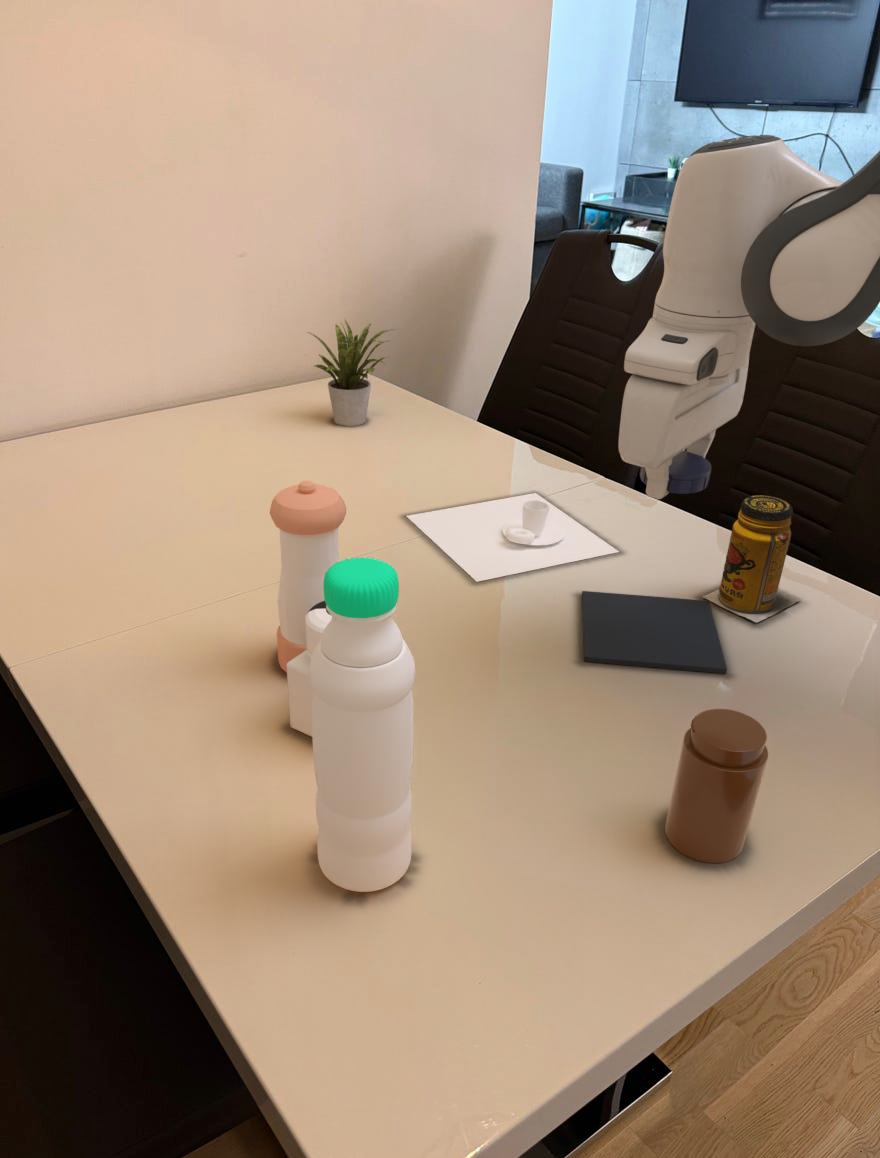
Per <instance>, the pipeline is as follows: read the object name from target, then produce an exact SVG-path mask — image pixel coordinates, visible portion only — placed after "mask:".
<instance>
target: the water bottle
mask: <svg viewBox="0 0 880 1158" xmlns="http://www.w3.org/2000/svg"><path fill="white" fill-rule="evenodd" d="M398 576H399V575H398V573H397V571H396V569H395V568H394V567H393V566H392V565H391V564H389V563H388V562H386V561H383V560H379V559H376V558H373V557H371V558H370V557H362V556H361V557H350V558H345V559H342V560H339V562H337V563H336V564H334V565H332V566H331V567H330V568H329V569H328V570H327V571H326V573H325V577H324V584H323V587H324V599H325V603H326V608H327V611H328V612H329V613H330V614H331V615H332V619H331V621H330V622H329V623H328V625H327V626H326V628H325V629H324V631H323V634H322V637H321V640H320V641H319V643H318V645H317V647H316V649H315V651H314V653H313V655H312V658H311V661H310V666H309V677H310V683H311V686H312V688H313V696H312V737H311V738H312V739H311V740H312V753H313V764H314V765H313V767H314V775H315V782H316V796H315V815H316V822H317V826H318V831H317V843H316V844H317V845H316V847H317V851H316V852H317V861H318V865H319V868H320V870H321V872H322V873H323V875H324V876H325V877H326V878H327V879H328V880H329V881H330V882H331V883H333V884H334V885H336V886H338V887H339V888H342V889H344V890H348V891H351V892H358V893H359V892H360V893H369V892H376V891H380V890H383V889H385V888H388V887H391V886H392V885H394V884H395V883H397V882H398V881H400V879H401V878H403V876H405V874H406V872H407V871H408V869H409V867H410V864H411V859H412V832H411V821H412V816H413V815H412V814H413V798H412V792H411V781H412V774H413V773H412V772H413V764H414V763H413V761H414V737H415V735H414V734H415V733H414V732H415V731H414V730H415V727H414V726H415V720H414V719H415V718H414V717H415V712H414V696H413V686H414V683H415V680H416V663H415V659H414V656H413V654H412V652H411V650H410V648H409V646H408V645H407V642H406V641H405V639H404V638H403V635H402V631H401V629H400V628H399V626H398V624H397V623H396V622H395V621H394V620H393V618H392V615H393V614H394V613H395V611H396V609H397V606H398V601H399V596H400V583H399V581H400V580H399V577H398Z"/></svg>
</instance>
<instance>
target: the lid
mask: <svg viewBox="0 0 880 1158" xmlns="http://www.w3.org/2000/svg"><path fill="white" fill-rule="evenodd" d="M686 451H687V450H684V451H682V452H681V453H679V454H677V455H676V456H674V457H673V459H672V464H671V465H670V466H669V477H670V478H672V481H671V486H670V492H669V493H670V494H676V495H677V494H678V495H684V494H685V495H688V494H695V493H698V492H702V491H704V490H705V489H707V487H708V484H709V483H710V480H711V475H712V464H711V462H710V461H709V460H708V459H707V458H706V457H705V458H703V457H701V456H699V455H697V454H694V453H690V452H686ZM639 478H640V480H641V482H642V483H644V484H645V485H646V486H647V480H648V478H647V474H646V470H645V467H641V466H640V468H639ZM669 493H668V494H669Z"/></svg>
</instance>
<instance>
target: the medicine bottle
mask: <svg viewBox="0 0 880 1158" xmlns="http://www.w3.org/2000/svg"><path fill="white" fill-rule="evenodd" d="M331 619H332V615H331V614H330V613H329V612H328V611H327V608H326V603H325V601H322V602H320V603H317V604H316V605H314V606H313V607H312V608H311V609H310V610H309V611H308V613H307V614H306V638H307V650H306V651H304V652H303V653H301V654H300V655H298V656H297V657H295V658H294V659H292V660H291V661H289V662H288V663H287V665H286V666H287V673H286V679H287V691H288V692H287V695H288V709H289V710H288V711H289V712H288V713H289V725H290V727H291V728H292V729H294V730H296V731H299V732H301V733H303V734H305V735H307V736H309V737H311V738H312V696H313V688H312V686H311V683H310V677H309V666H310V661H311V658H312V655H313V653H314V651H315V649H316V647H317V645H318V643H319V641H320V640H321V637H322V634H323V631H324V629H325V628H326V626H327V625H328V623H329V622H330V621H331Z"/></svg>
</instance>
